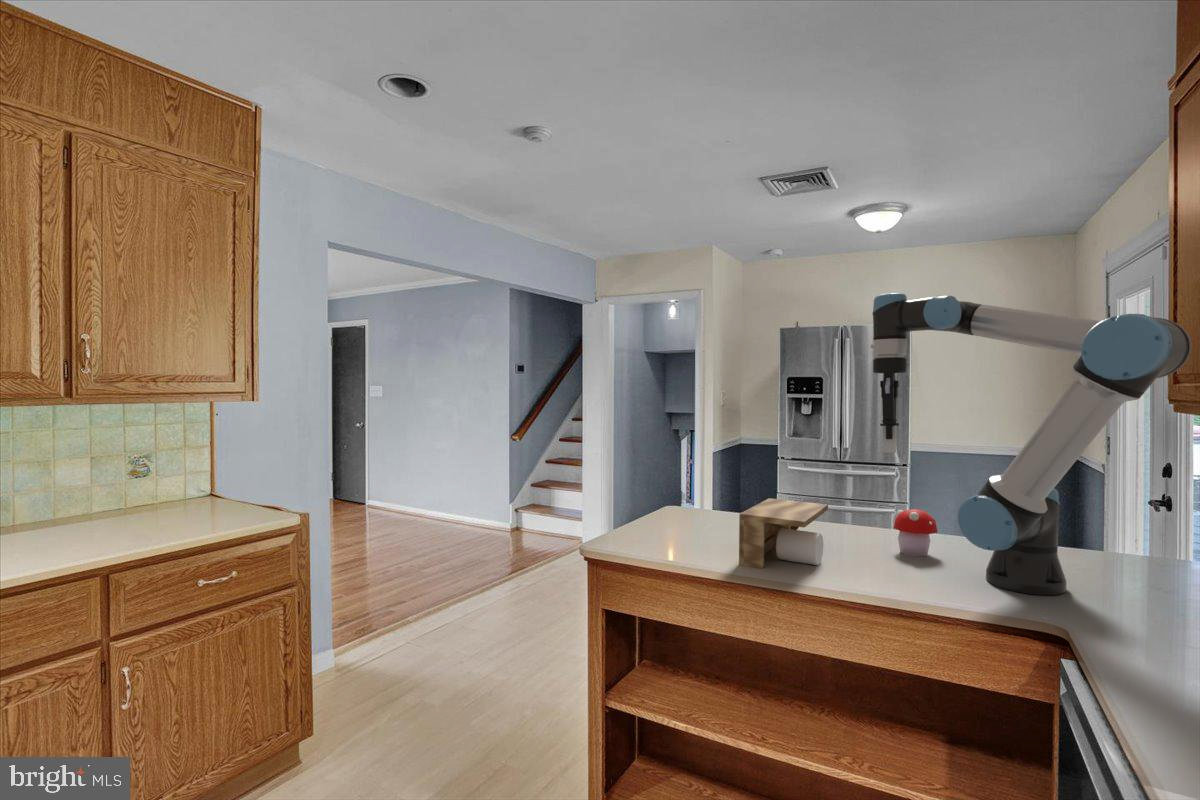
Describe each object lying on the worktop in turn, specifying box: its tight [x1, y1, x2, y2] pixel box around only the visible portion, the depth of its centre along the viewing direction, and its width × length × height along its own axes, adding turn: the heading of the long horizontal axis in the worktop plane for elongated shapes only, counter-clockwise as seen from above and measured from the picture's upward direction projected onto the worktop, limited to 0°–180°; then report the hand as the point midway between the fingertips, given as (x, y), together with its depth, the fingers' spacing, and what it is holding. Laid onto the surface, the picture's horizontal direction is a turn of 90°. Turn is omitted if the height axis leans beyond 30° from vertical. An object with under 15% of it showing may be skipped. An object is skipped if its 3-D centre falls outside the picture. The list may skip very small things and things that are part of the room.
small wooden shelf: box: [738, 498, 829, 569], centre depth 162 cm, size 16×24×13 cm, turn 147°
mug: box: [775, 528, 824, 566], centre depth 161 cm, size 12×10×8 cm
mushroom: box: [893, 508, 938, 557], centre depth 167 cm, size 11×11×12 cm
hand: (889, 452), depth 155 cm, fingers closed
